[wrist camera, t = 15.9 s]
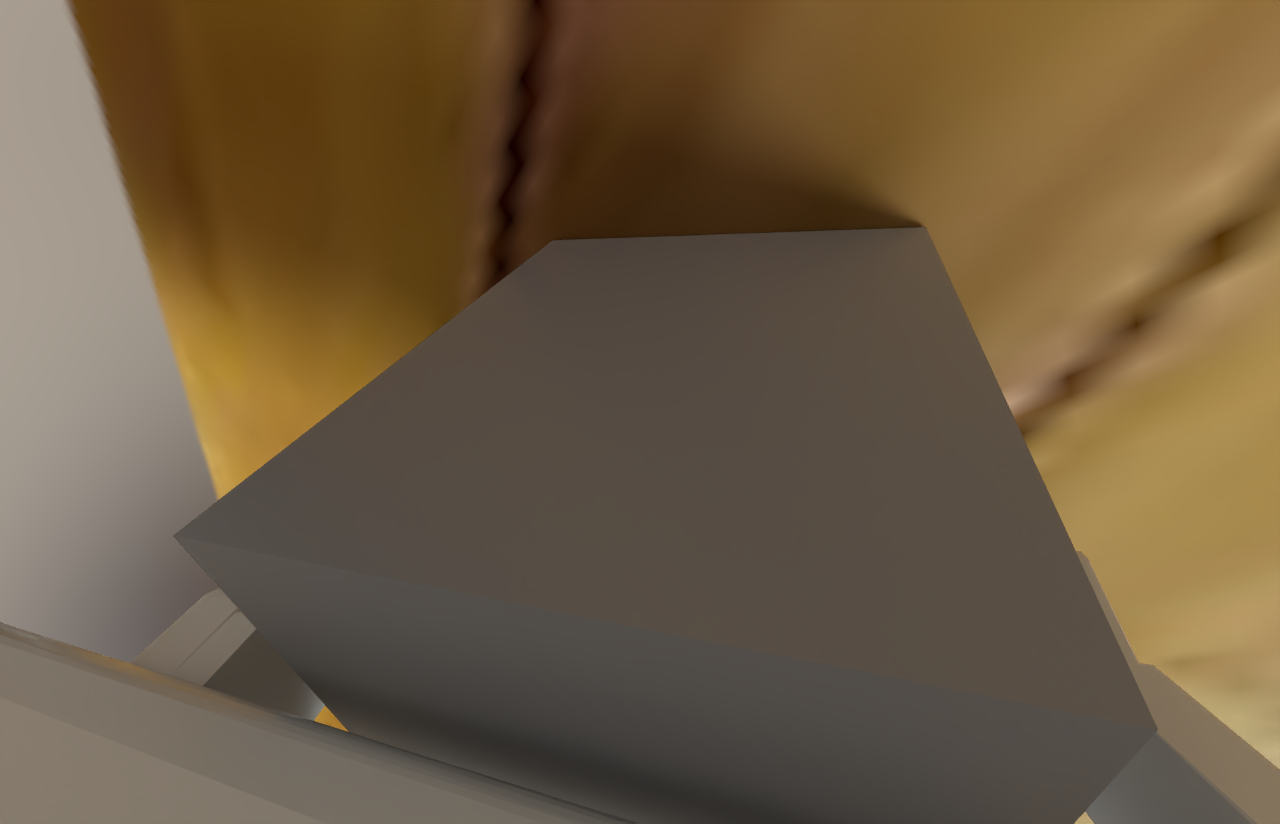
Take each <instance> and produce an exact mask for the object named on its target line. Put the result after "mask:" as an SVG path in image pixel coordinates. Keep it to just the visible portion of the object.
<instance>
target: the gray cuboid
mask: <svg viewBox="0 0 1280 824" xmlns="http://www.w3.org/2000/svg"><path fill="white" fill-rule="evenodd" d="M173 537H174V538H175V539H176V540H177V541H178V542H179V543H180V544H181V545H182V546H183V547H184V549H185V550H186V551H187V552H188V553H189V554H190V555H191V556H192V558H193V559H194V560H195V561H196V562H197V563H198V564H199V565H200V566H201V567H202V569H203V570H204V571H205V572H206V573H207V574H208V575H209V577H210V578H211V579H212V580H213V581H214V582H215V583H216V584H217V585H218V587H219V588H220V589H221V590H222V591H223V592H224V593H225V594H226V595H227V597H228V598H229V599H230V600H231V601H232V602H233V603H234V604H235V605H236V607H237V608H238V609H239V610H240V611H241V612H242V613H243V614H244V615H245V617H246V618H247V619H248V620H249V621H250V622H251V623H252V624H253V625H254V627H255V628H256V629H257V630H258V631H259V632H260V633H261V634H262V635H263V637H264V638H265V639H266V640H267V641H268V642H269V643H270V644H271V646H272V647H273V648H274V649H275V650H276V651H277V652H278V653H279V654H280V656H281V657H282V658H283V659H284V660H285V661H286V662H287V663H288V664H289V666H290V667H291V668H292V669H293V670H294V671H295V672H296V673H297V674H298V676H299V677H300V678H301V679H302V680H303V681H304V682H305V683H306V684H307V686H308V687H309V688H310V689H311V690H312V691H313V692H314V693H315V694H316V696H317V697H318V698H319V699H320V700H321V701H322V702H323V703H324V704H325V706H326V707H327V708H328V709H329V710H330V711H331V712H332V713H333V714H334V716H335V717H336V718H337V719H338V720H339V721H340V722H341V723H342V724H343V726H344V727H345V728H346V729H347V730H348V731H349V732H350V733H353V734H356V735H359V736H363V737H366V738H369V739H372V740H375V741H378V742H382V743H385V744H388V745H391V746H394V747H397V748H401V749H404V750H407V751H410V752H413V753H416V754H420V755H423V756H426V757H429V758H432V759H436V760H439V761H442V762H445V763H448V764H451V765H455V766H458V767H461V768H464V769H467V770H470V771H474V772H477V773H480V774H483V775H486V776H489V777H493V778H496V779H499V780H502V781H505V782H508V783H512V784H515V785H518V786H521V787H524V788H528V789H531V790H534V791H537V792H540V793H543V794H547V795H550V796H553V797H556V798H559V799H562V800H566V801H569V802H572V803H575V804H578V805H581V806H585V807H588V808H591V809H594V810H597V811H600V812H604V813H607V814H610V815H613V816H616V817H620V818H623V819H626V820H629V821H632V822H635V823H639V824H1074V823H1075V822H1076V820H1077V819H1078V818H1079V817H1080V816H1081V815H1082V814H1083V813H1084V812H1085V810H1086V809H1087V808H1088V807H1089V806H1090V805H1091V804H1092V803H1093V802H1094V801H1095V799H1096V798H1097V797H1098V796H1099V795H1100V794H1101V793H1102V792H1103V791H1104V789H1105V788H1106V787H1107V786H1108V785H1109V784H1110V783H1111V782H1112V781H1113V779H1114V778H1115V777H1116V776H1117V775H1118V774H1119V773H1120V772H1121V771H1122V769H1123V768H1124V767H1125V766H1126V765H1127V764H1128V763H1129V762H1130V761H1131V759H1132V758H1133V757H1134V756H1135V755H1136V754H1137V753H1138V752H1139V751H1140V749H1141V748H1142V747H1143V746H1144V745H1145V744H1146V743H1147V742H1148V741H1149V739H1150V738H1151V737H1152V736H1153V735H1154V734H1155V733H1156V732H1157V731H1158V728H1157V726H1156V724H1155V722H1154V720H1153V717H1152V715H1151V713H1150V711H1149V709H1148V707H1147V704H1146V702H1145V700H1144V698H1143V696H1142V694H1141V691H1140V689H1139V687H1138V685H1137V683H1136V681H1135V678H1134V676H1133V674H1132V672H1131V670H1130V668H1129V666H1128V663H1127V661H1126V659H1125V657H1124V655H1123V653H1122V650H1121V648H1120V646H1119V644H1118V642H1117V640H1116V637H1115V635H1114V633H1113V631H1112V629H1111V627H1110V624H1109V622H1108V620H1107V618H1106V616H1105V614H1104V611H1103V609H1102V607H1101V605H1100V603H1099V601H1098V598H1097V596H1096V594H1095V592H1094V590H1093V588H1092V585H1091V583H1090V581H1089V579H1088V577H1087V575H1086V573H1085V570H1084V568H1083V566H1082V564H1081V562H1080V560H1079V557H1078V555H1077V553H1076V551H1075V549H1074V547H1073V544H1072V542H1071V540H1070V538H1069V536H1068V534H1067V531H1066V529H1065V527H1064V525H1063V523H1062V521H1061V518H1060V516H1059V514H1058V512H1057V510H1056V508H1055V505H1054V503H1053V501H1052V499H1051V497H1050V495H1049V492H1048V490H1047V488H1046V486H1045V484H1044V482H1043V480H1042V477H1041V475H1040V473H1039V471H1038V469H1037V467H1036V464H1035V462H1034V460H1033V458H1032V456H1031V454H1030V451H1029V449H1028V447H1027V445H1026V443H1025V441H1024V438H1023V436H1022V434H1021V432H1020V430H1019V428H1018V425H1017V423H1016V421H1015V419H1014V417H1013V415H1012V412H1011V410H1010V408H1009V406H1008V404H1007V402H1006V399H1005V397H1004V395H1003V393H1002V391H1001V389H1000V387H999V384H998V382H997V380H996V378H995V376H994V374H993V371H992V369H991V367H990V365H989V363H988V361H987V358H986V356H985V354H984V352H983V350H982V348H981V345H980V343H979V341H978V339H977V337H976V335H975V332H974V330H973V328H972V326H971V324H970V322H969V319H968V317H967V315H966V313H965V311H964V309H963V306H962V304H961V302H960V300H959V298H958V296H957V294H956V291H955V289H954V287H953V285H952V283H951V281H950V278H949V276H948V274H947V272H946V270H945V268H944V265H943V263H942V261H941V259H940V257H939V255H938V252H937V250H936V248H935V246H934V244H933V242H932V239H931V237H930V235H929V233H928V231H927V229H926V227H914V228H886V229H858V230H830V231H802V232H773V233H745V234H717V235H689V236H661V237H632V238H604V239H576V240H552V241H551V242H550V243H548V244H547V245H546V246H545V247H543V248H542V249H541V250H539V251H538V252H537V253H536V254H534V255H533V256H532V257H530V258H529V259H528V260H527V261H525V262H524V263H523V264H521V265H520V266H519V267H518V268H516V269H515V270H514V271H512V272H511V273H510V274H509V275H507V276H506V277H505V278H503V279H502V280H501V281H500V282H498V283H497V284H496V285H495V286H493V287H492V288H491V289H489V290H488V291H487V292H486V293H484V294H483V295H482V296H480V297H479V298H478V299H477V300H475V301H474V302H473V303H471V304H470V305H469V306H468V307H466V308H465V309H464V310H462V311H461V312H460V313H459V314H457V315H456V316H455V317H453V318H452V319H451V320H450V321H448V322H447V323H446V324H444V325H443V326H442V327H441V328H439V329H438V330H437V331H435V332H434V333H433V334H432V335H430V336H429V337H428V338H426V339H425V340H424V341H423V342H421V343H420V344H419V345H417V346H416V347H415V348H414V349H412V350H411V351H410V352H408V353H407V354H406V355H405V356H403V357H402V358H401V359H399V360H398V361H397V362H396V363H394V364H393V365H392V366H390V367H389V368H388V369H387V370H385V371H384V372H383V373H381V374H380V375H379V376H378V377H376V378H375V379H374V380H372V381H371V382H370V383H369V384H367V385H366V386H365V387H363V388H362V389H361V390H360V391H358V392H357V393H356V394H354V395H353V396H352V397H351V398H349V399H348V400H347V401H345V402H344V403H343V404H342V405H340V406H339V407H338V408H336V409H335V410H334V411H333V412H331V413H330V414H329V415H327V416H326V417H325V418H324V419H322V420H321V421H320V422H318V423H317V424H316V425H315V426H313V427H312V428H311V429H309V430H308V431H307V432H306V433H304V434H303V435H302V436H300V437H299V438H298V439H297V440H295V441H294V442H293V443H291V444H290V445H289V446H288V447H286V448H285V449H284V450H282V451H281V452H280V453H279V454H277V455H276V456H275V457H273V458H272V459H271V460H270V461H268V462H267V463H266V464H264V465H263V466H262V467H261V468H259V469H258V470H257V471H255V472H254V473H253V474H252V475H250V476H249V477H248V478H246V479H245V480H244V481H243V482H241V483H240V484H239V485H237V486H236V487H235V488H234V489H232V490H231V491H230V492H228V493H227V494H226V495H225V496H223V497H222V498H221V499H219V500H218V501H217V502H216V503H214V504H213V505H212V506H211V507H209V508H208V509H207V510H205V511H204V512H203V513H202V514H200V515H199V516H198V517H196V518H195V519H194V520H193V521H191V522H190V523H189V524H187V525H186V526H185V527H184V528H182V529H181V530H180V531H178V532H177V533H176V534H175V535H173Z"/></svg>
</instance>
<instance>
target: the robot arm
mask: <svg viewBox="0 0 1280 824" xmlns="http://www.w3.org/2000/svg"><path fill="white" fill-rule="evenodd" d="M1076 553H1077V555H1078V557H1079V560H1080V562H1081V564H1082V566H1083V568H1084V570H1085V573H1086V575H1087V577H1088V579H1089V581H1090V583H1091V585H1092V588H1093V590H1094V592H1095V594H1096V596H1097V598H1098V601H1099V603H1100V605H1101V607H1102V609H1103V611H1104V614H1105V616H1106V618H1107V620H1108V622H1109V624H1110V627H1111V629H1112V631H1113V633H1114V635H1115V637H1116V640H1117V642H1118V644H1119V646H1120V648H1121V650H1122V653H1123V655H1124V657H1125V659H1126V661H1127V663H1128V666H1129V668H1130V670H1131V672H1132V674H1133V676H1134V678H1135V681H1136V683H1137V685H1138V687H1139V689H1140V691H1141V694H1142V696H1143V698H1144V700H1145V702H1146V704H1147V707H1148V709H1149V711H1150V713H1151V715H1152V717H1153V720H1154V722H1155V724H1156V726H1157V728H1158V731H1157V732H1156V733H1155V734H1154V735H1153V736H1152V737H1151V738H1150V739H1149V741H1148V742H1147V743H1146V744H1145V745H1144V746H1143V747H1142V748H1141V749H1140V751H1139V752H1138V753H1137V754H1136V755H1135V756H1134V757H1133V758H1132V759H1131V761H1130V762H1129V763H1128V764H1127V765H1126V766H1125V767H1124V768H1123V769H1122V771H1121V772H1120V773H1119V774H1118V775H1117V776H1116V777H1115V778H1114V779H1113V781H1112V782H1111V783H1110V784H1109V785H1108V786H1107V787H1106V788H1105V789H1104V791H1103V792H1102V793H1101V794H1100V795H1099V796H1098V797H1097V798H1096V799H1095V801H1094V802H1093V803H1092V804H1091V805H1090V806H1089V807H1088V808H1087V809H1086V810H1085V812H1086V813H1087V814H1088V816H1089V817H1090V818H1091V820H1092V821H1093V822H1094V823H1095V824H1280V769H1278V768H1277V767H1276V766H1275V765H1273V764H1272V763H1271V762H1270V761H1269V760H1267V759H1266V758H1265V757H1264V756H1263V755H1261V754H1260V753H1259V752H1258V751H1257V750H1255V749H1254V748H1253V747H1252V746H1251V745H1249V744H1248V743H1247V742H1246V741H1245V740H1243V739H1242V738H1241V737H1240V736H1238V735H1237V734H1236V733H1235V732H1234V731H1232V730H1231V729H1230V728H1229V727H1228V726H1226V725H1225V724H1224V723H1223V722H1222V721H1220V720H1219V719H1218V718H1217V717H1216V716H1214V715H1213V714H1212V713H1211V712H1210V711H1208V710H1207V709H1206V708H1205V707H1204V706H1202V705H1201V704H1200V703H1199V702H1197V701H1196V700H1195V699H1194V698H1193V697H1191V696H1190V695H1189V694H1188V693H1187V692H1185V691H1184V690H1183V689H1182V688H1181V687H1179V686H1178V685H1177V684H1176V683H1175V682H1173V681H1172V680H1171V679H1170V678H1169V677H1167V676H1166V675H1165V674H1164V673H1162V672H1161V671H1160V670H1159V669H1158V668H1156V667H1155V666H1154V665H1149V664H1144V663H1139V662H1138V660H1137V658H1136V656H1135V654H1134V652H1133V650H1132V647H1131V645H1130V643H1129V641H1128V639H1127V637H1126V635H1125V633H1124V631H1123V629H1122V627H1121V625H1120V623H1119V621H1118V619H1117V617H1116V615H1115V613H1114V611H1113V609H1112V607H1111V605H1110V602H1109V600H1108V598H1107V596H1106V594H1105V592H1104V590H1103V588H1102V586H1101V584H1100V582H1099V580H1098V578H1097V576H1096V574H1095V572H1094V570H1093V568H1092V566H1091V564H1090V562H1089V560H1088V558H1087V557H1086V556H1085V555H1084V554H1083V553H1082V552H1080V551H1076ZM324 706H325V704H324V703H323V702H322V701H321V700H320V699H319V698H318V697H317V696H316V694H315V693H314V692H313V691H312V690H311V689H310V688H309V687H308V686H307V684H306V683H305V682H304V681H303V680H302V679H301V678H300V677H299V676H298V674H297V673H296V672H295V671H294V670H293V669H292V668H291V667H290V666H289V664H288V663H287V662H286V661H285V660H284V659H283V658H282V657H281V656H280V654H279V653H278V652H277V651H276V650H275V649H274V648H273V647H272V646H271V644H270V643H269V642H268V641H267V640H266V639H265V638H264V637H263V635H262V634H261V633H260V632H259V631H258V630H257V629H256V628H255V627H254V625H253V624H252V623H251V622H250V621H249V620H248V619H247V618H246V617H245V615H244V614H243V613H242V612H241V611H240V610H239V609H238V608H237V607H236V605H235V604H234V603H233V602H232V601H231V600H230V599H229V598H228V597H227V595H226V594H225V593H224V592H223V591H222V590H221V589H220V588H218V589H216V590H214V591H212V592H210V593H208V594H206V595H204V596H203V597H202V598H201V599H200V600H199V601H198V602H197V603H196V604H194V605H193V606H192V607H191V608H190V609H189V610H188V611H187V612H186V613H184V614H183V615H182V616H181V617H180V618H179V619H178V620H177V621H176V622H175V623H173V624H172V625H171V626H170V627H169V628H168V629H167V630H166V631H165V632H164V633H163V634H162V635H160V636H159V637H158V638H157V639H156V640H155V641H154V642H153V643H151V644H150V645H149V646H148V647H147V648H146V649H145V650H144V651H143V652H142V653H140V654H139V655H138V656H137V657H136V658H135V659H134V660H133V661H132V662H131V663H128V662H124V661H121V660H118V659H115V658H112V657H108V656H105V655H102V654H99V653H96V652H92V651H90V650H86V649H83V648H80V647H76V646H74V645H70V644H67V643H64V642H61V641H58V640H54V639H51V638H48V637H44V636H41V635H38V634H35V633H32V632H29V631H25V630H22V629H19V628H16V627H13V626H10V625H7V624H4V623H1V622H0V824H639V823H635V822H632V821H629V820H626V819H623V818H620V817H616V816H613V815H610V814H607V813H604V812H600V811H597V810H594V809H591V808H588V807H585V806H581V805H578V804H575V803H572V802H569V801H566V800H562V799H559V798H556V797H553V796H550V795H547V794H543V793H540V792H537V791H534V790H531V789H528V788H524V787H521V786H518V785H515V784H512V783H508V782H505V781H502V780H499V779H496V778H493V777H489V776H486V775H483V774H480V773H477V772H474V771H470V770H467V769H464V768H461V767H458V766H455V765H451V764H448V763H445V762H442V761H439V760H436V759H432V758H429V757H426V756H423V755H420V754H416V753H413V752H410V751H407V750H404V749H401V748H397V747H394V746H391V745H388V744H385V743H382V742H378V741H375V740H372V739H369V738H366V737H363V736H359V735H356V734H353V733H350V732H347V731H344V730H340V729H337V728H334V727H331V726H328V725H324V724H321V723H318V722H315V721H314V719H315V718H316V717H317V715H318V714H319V713H320V711H321V710H322V708H323V707H324Z"/></svg>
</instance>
